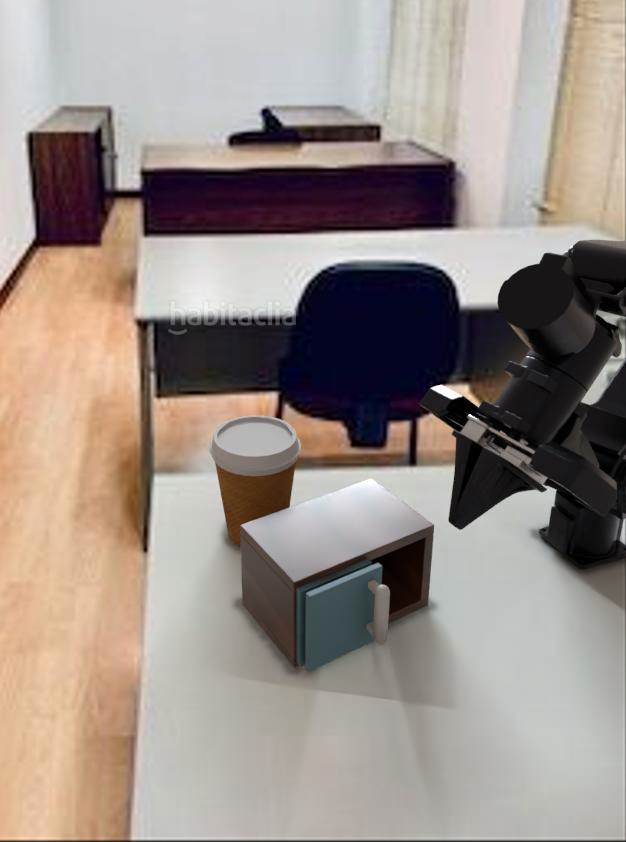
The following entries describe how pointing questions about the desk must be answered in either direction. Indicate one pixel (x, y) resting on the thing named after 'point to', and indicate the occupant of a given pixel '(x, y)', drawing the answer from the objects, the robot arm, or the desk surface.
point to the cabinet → (332, 557)
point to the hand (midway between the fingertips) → (454, 526)
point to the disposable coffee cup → (254, 468)
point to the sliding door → (346, 616)
